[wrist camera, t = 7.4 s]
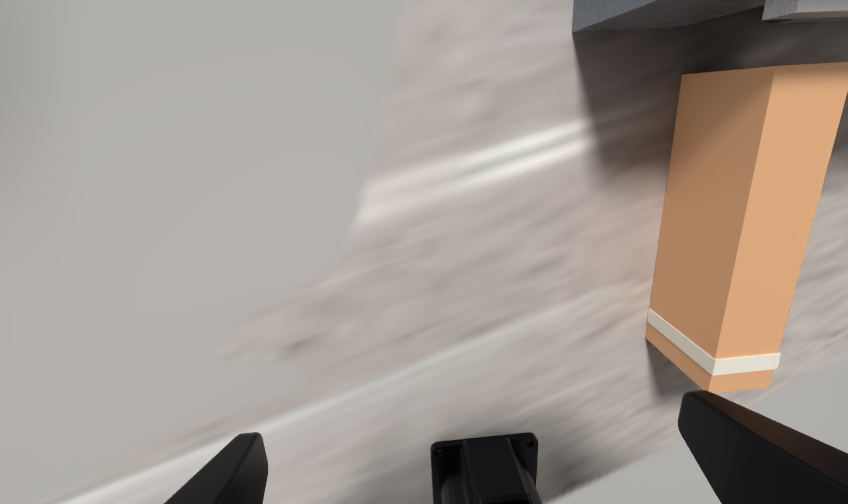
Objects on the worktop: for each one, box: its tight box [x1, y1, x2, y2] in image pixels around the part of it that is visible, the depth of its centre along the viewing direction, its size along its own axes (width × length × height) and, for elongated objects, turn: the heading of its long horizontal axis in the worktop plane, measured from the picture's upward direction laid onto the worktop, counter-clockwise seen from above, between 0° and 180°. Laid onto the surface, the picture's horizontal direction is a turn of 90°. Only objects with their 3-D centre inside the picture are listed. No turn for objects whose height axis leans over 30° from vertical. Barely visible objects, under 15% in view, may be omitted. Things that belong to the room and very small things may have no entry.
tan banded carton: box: [645, 62, 848, 394], centre depth 20 cm, size 14×3×5 cm, turn 3°
